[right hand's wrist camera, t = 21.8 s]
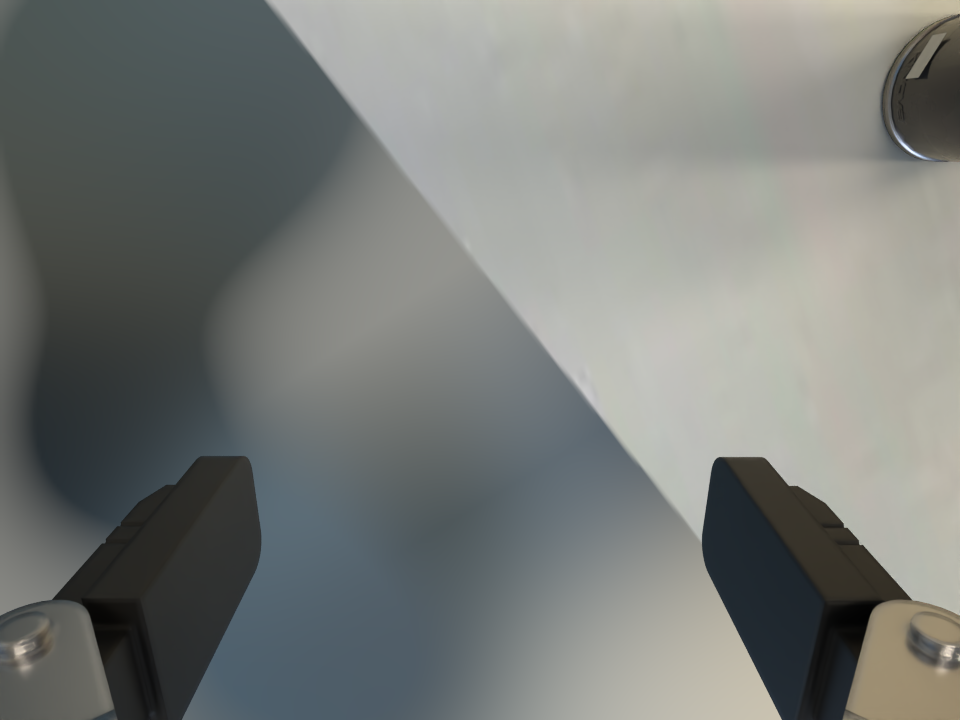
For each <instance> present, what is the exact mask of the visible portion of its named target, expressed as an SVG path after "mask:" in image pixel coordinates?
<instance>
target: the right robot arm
mask: <svg viewBox="0 0 960 720" xmlns="http://www.w3.org/2000/svg"><path fill="white" fill-rule="evenodd" d="M883 117H884V121H885V125H886V128H887V130H888V133H889V135H890V136H891V138H892V140H893V141H894V142H895V143H896V145H897V146H898V147H899V148H900V149H902V150H903V151H904V152H906V153H907V154H909V155H911V156H913V157H915V158H919V159H922V160H927V161H938V162H948V161H954V162H960V14H958V15H954V16H950V17H947V18H944V19H942V20H940V21H937V22H936V23H934V24H932V25H930V26H929V27H927V28H926V29H924V30H923V31H922V32H920V33H919V34H918V35H917V36H916V37H914V38H913V39H912V40H911V41H910V42H909V44H908V45H907V46H906V47H905V48H904V49H903V51H902V52H901V53H900V55H899V56H898V58H897V59H896V61H895V63H894V65H893V66H892V69H891V71H890V73H889V76H888V78H887V81H886V85H885V89H884V94H883ZM702 550H703V557H704V562H705V566H706V568H707V571H708V573H709V575H710V577H711V579H712V581H713V583H714V585H715V587H716V589H717V591H718V593H719V595H720V597H721V599H722V601H723V603H724V605H725V607H726V609H727V611H728V613H729V615H730V617H731V619H732V621H733V623H734V625H735V627H736V629H737V631H738V633H739V635H740V637H741V639H742V641H743V643H744V645H745V647H746V649H747V651H748V653H749V655H750V657H751V659H752V661H753V663H754V665H755V667H756V669H757V671H758V673H759V675H760V677H761V679H762V681H763V683H764V685H765V687H766V689H767V691H768V693H769V695H770V697H771V699H772V701H773V703H774V705H775V707H776V709H777V711H778V713H779V715H780V717H781V719H782V720H960V616H959V615H957V614H955V613H953V612H951V611H948V610H946V609H943V608H941V607H938V606H935V605H931V604H928V603H923V602H919V601H913V600H912V599H911V598H910V597H909V596H908V595H907V594H906V593H905V592H904V590H903V589H902V588H901V587H900V586H899V585H898V584H897V583H896V581H895V580H894V579H893V578H892V577H891V576H890V575H889V574H888V573H887V571H886V570H885V569H884V568H883V567H882V566H881V565H880V564H879V563H878V561H877V560H876V559H875V558H874V557H873V556H872V555H871V554H870V553H869V551H868V550H867V549H866V548H865V547H864V546H863V545H859V540H858V539H857V538H856V537H855V536H854V535H853V534H852V532H851V531H850V530H849V529H848V528H844V524H843V522H842V521H841V520H840V519H839V518H838V517H837V516H836V515H835V514H834V512H833V511H832V510H831V509H830V508H829V507H828V506H827V505H826V503H824V502H822V501H821V500H819V499H818V498H816V497H814V496H813V495H811V494H809V493H808V492H806V491H805V490H803V489H801V488H800V487H798V486H788V485H787V483H786V482H785V481H784V480H783V479H782V477H781V476H780V475H779V474H778V473H777V471H776V470H775V469H774V468H773V467H772V466H771V464H770V463H769V462H768V461H767V460H766V459H765V458H763V457H719V458H717V459H716V460H715V461H714V463H713V466H712V471H711V477H710V484H709V491H708V498H707V505H706V512H705V519H704V526H703V533H702ZM260 551H261V529H260V522H259V515H258V508H257V501H256V494H255V487H254V480H253V473H252V467H251V464H250V461H249V459H248V458H247V457H245V456H201V457H199V458H198V459H197V460H196V461H195V462H194V463H193V464H192V466H191V467H190V468H189V469H188V470H187V472H186V473H185V474H184V475H183V476H182V478H181V479H180V480H179V481H178V482H177V484H176V485H166V486H164V487H162V488H161V489H159V490H158V491H156V492H154V493H153V494H151V495H149V496H148V497H146V498H145V499H143V500H141V501H140V502H139V503H138V504H137V505H136V506H135V507H134V508H133V509H132V510H131V512H130V513H129V514H128V515H127V516H126V517H125V518H124V519H123V521H122V522H121V526H117V527H116V528H115V530H114V531H113V532H112V533H111V534H110V535H109V536H108V537H107V538H106V543H105V544H101V545H100V546H99V548H98V549H97V550H96V551H95V552H94V553H93V554H92V555H91V556H90V558H89V559H88V560H87V561H86V562H85V563H84V564H83V565H82V567H81V568H80V569H79V570H78V571H77V572H76V573H75V575H74V576H73V577H72V578H71V579H70V580H69V581H68V582H67V583H66V585H65V586H64V587H63V588H62V589H61V590H60V591H59V592H58V594H57V595H56V596H55V597H54V598H53V599H52V600H49V601H41V602H37V603H33V604H29V605H25V606H22V607H19V608H17V609H14V610H12V611H9V612H7V613H5V614H3V615H1V616H0V720H182V718H183V716H184V714H185V712H186V710H187V708H188V706H189V704H190V702H191V700H192V698H193V696H194V694H195V692H196V690H197V688H198V686H199V684H200V682H201V680H202V678H203V676H204V674H205V671H206V670H207V668H208V666H209V663H210V662H211V660H212V658H213V656H214V653H215V651H216V649H217V647H218V645H219V643H220V641H221V639H222V637H223V635H224V633H225V631H226V629H227V627H228V625H229V623H230V621H231V619H232V617H233V615H234V613H235V611H236V609H237V607H238V605H239V603H240V601H241V599H242V597H243V595H244V593H245V591H246V589H247V587H248V585H249V583H250V581H251V579H252V577H253V575H254V573H255V571H256V568H257V565H258V562H259V558H260Z"/></svg>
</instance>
